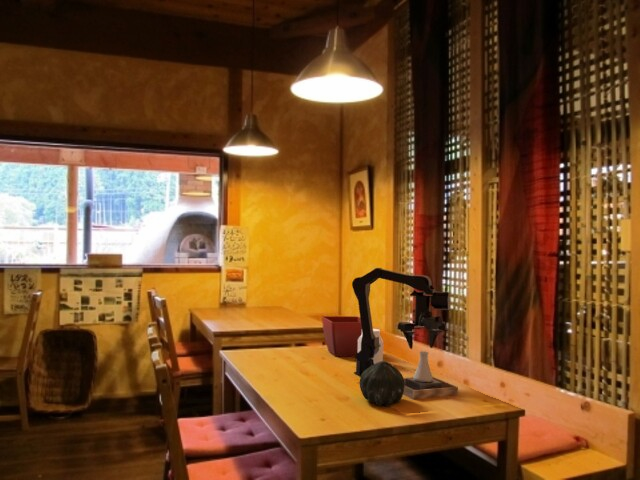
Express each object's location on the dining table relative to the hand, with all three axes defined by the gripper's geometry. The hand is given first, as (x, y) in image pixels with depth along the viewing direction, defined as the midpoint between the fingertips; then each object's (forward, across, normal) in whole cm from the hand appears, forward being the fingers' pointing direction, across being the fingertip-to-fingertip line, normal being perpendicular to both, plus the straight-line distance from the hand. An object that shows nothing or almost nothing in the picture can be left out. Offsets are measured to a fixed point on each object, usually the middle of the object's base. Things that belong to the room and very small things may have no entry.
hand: (421, 348), depth 207 cm
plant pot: (+13, -6, +56) cm, 58 cm away
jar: (+13, -4, +34) cm, 37 cm away
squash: (+13, -28, -20) cm, 37 cm away
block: (+12, -8, -14) cm, 20 cm away
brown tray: (+13, -8, -14) cm, 21 cm away
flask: (+9, -8, -14) cm, 18 cm away
